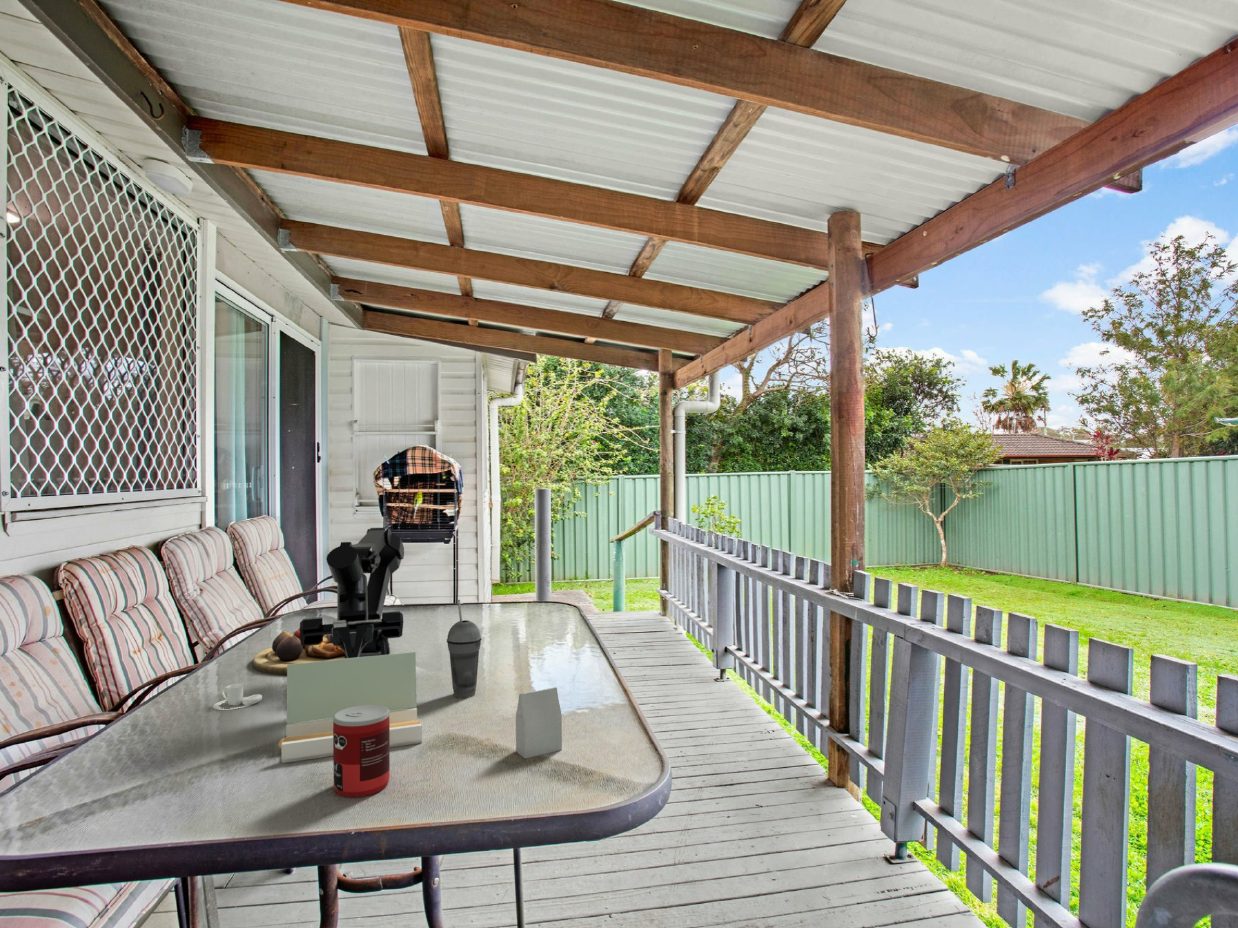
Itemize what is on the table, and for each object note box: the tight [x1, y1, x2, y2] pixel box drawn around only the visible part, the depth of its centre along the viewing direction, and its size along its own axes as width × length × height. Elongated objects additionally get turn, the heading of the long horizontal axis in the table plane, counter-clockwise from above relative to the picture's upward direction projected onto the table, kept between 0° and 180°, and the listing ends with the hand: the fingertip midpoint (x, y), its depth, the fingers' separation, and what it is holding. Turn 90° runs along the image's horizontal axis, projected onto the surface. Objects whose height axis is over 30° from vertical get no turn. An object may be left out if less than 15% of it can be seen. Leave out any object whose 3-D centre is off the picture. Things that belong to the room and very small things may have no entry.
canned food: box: [332, 705, 391, 798], centre depth 104 cm, size 8×8×11 cm
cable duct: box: [281, 707, 423, 764], centre depth 121 cm, size 10×22×3 cm, turn 111°
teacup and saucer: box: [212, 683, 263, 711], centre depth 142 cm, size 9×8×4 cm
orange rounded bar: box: [277, 719, 421, 750], centre depth 121 cm, size 2×23×2 cm, turn 111°
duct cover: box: [286, 651, 418, 725], centre depth 128 cm, size 10×22×2 cm
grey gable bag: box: [515, 686, 563, 759], centre depth 117 cm, size 4×7×10 cm, turn 121°
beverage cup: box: [446, 599, 483, 699], centre depth 147 cm, size 7×7×20 cm
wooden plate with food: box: [252, 623, 345, 676], centre depth 178 cm, size 32×32×8 cm
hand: (353, 666), depth 130 cm, fingers closed
